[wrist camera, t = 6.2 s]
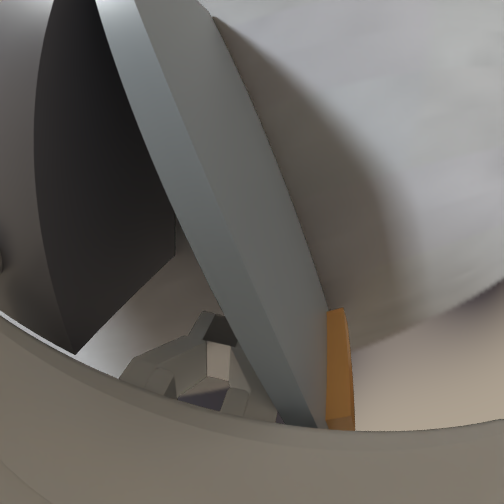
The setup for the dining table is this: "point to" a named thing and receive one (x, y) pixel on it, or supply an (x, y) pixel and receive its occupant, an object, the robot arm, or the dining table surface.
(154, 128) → the side door
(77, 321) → the camera housing
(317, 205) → the dining table surface
